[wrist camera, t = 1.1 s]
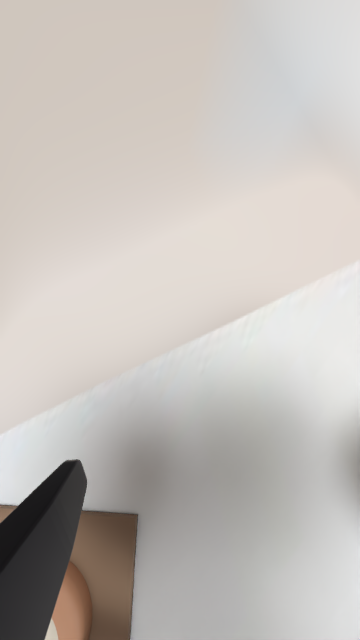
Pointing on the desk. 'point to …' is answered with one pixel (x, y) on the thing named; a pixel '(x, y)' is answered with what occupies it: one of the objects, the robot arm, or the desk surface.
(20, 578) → the robot arm
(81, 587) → the terracotta bowl
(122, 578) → the walnut trivet
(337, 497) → the desk surface
